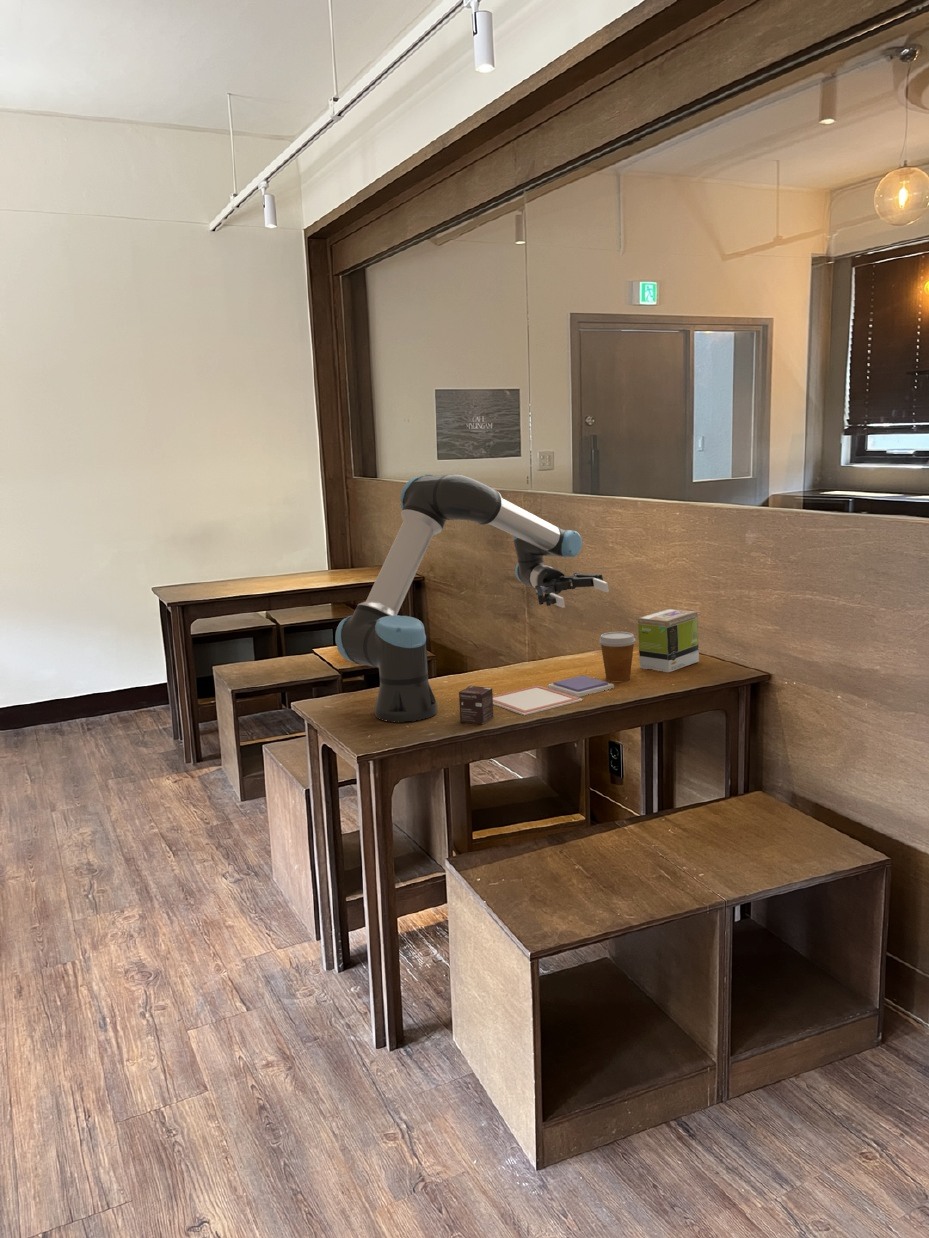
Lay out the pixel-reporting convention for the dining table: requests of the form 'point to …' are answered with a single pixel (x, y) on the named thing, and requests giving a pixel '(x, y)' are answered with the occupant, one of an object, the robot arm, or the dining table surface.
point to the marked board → (533, 700)
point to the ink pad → (580, 686)
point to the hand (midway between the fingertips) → (585, 595)
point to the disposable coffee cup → (617, 655)
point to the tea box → (668, 640)
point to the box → (476, 704)
